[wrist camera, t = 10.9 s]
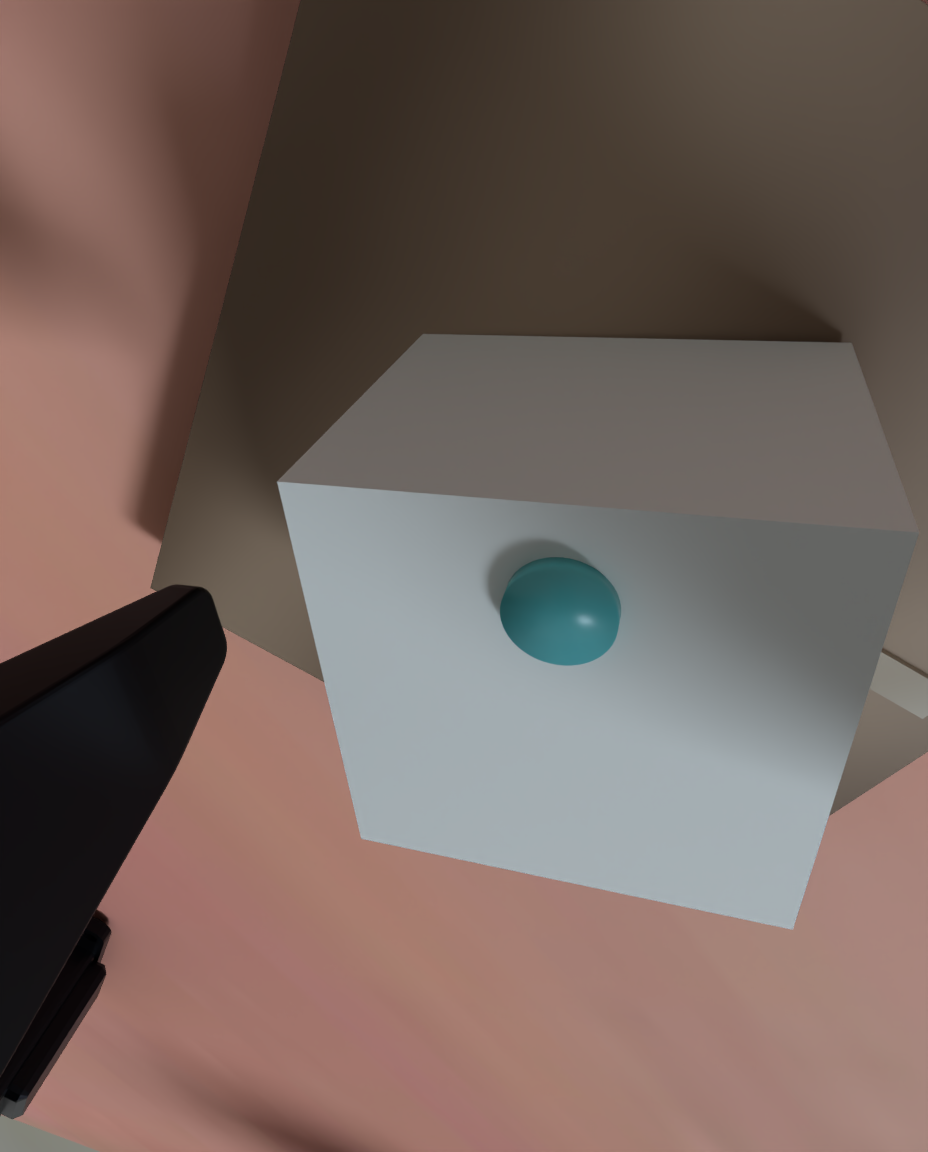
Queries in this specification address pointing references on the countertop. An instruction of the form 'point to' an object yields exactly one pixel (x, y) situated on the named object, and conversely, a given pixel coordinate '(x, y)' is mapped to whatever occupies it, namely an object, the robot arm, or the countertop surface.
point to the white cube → (604, 605)
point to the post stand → (567, 244)
